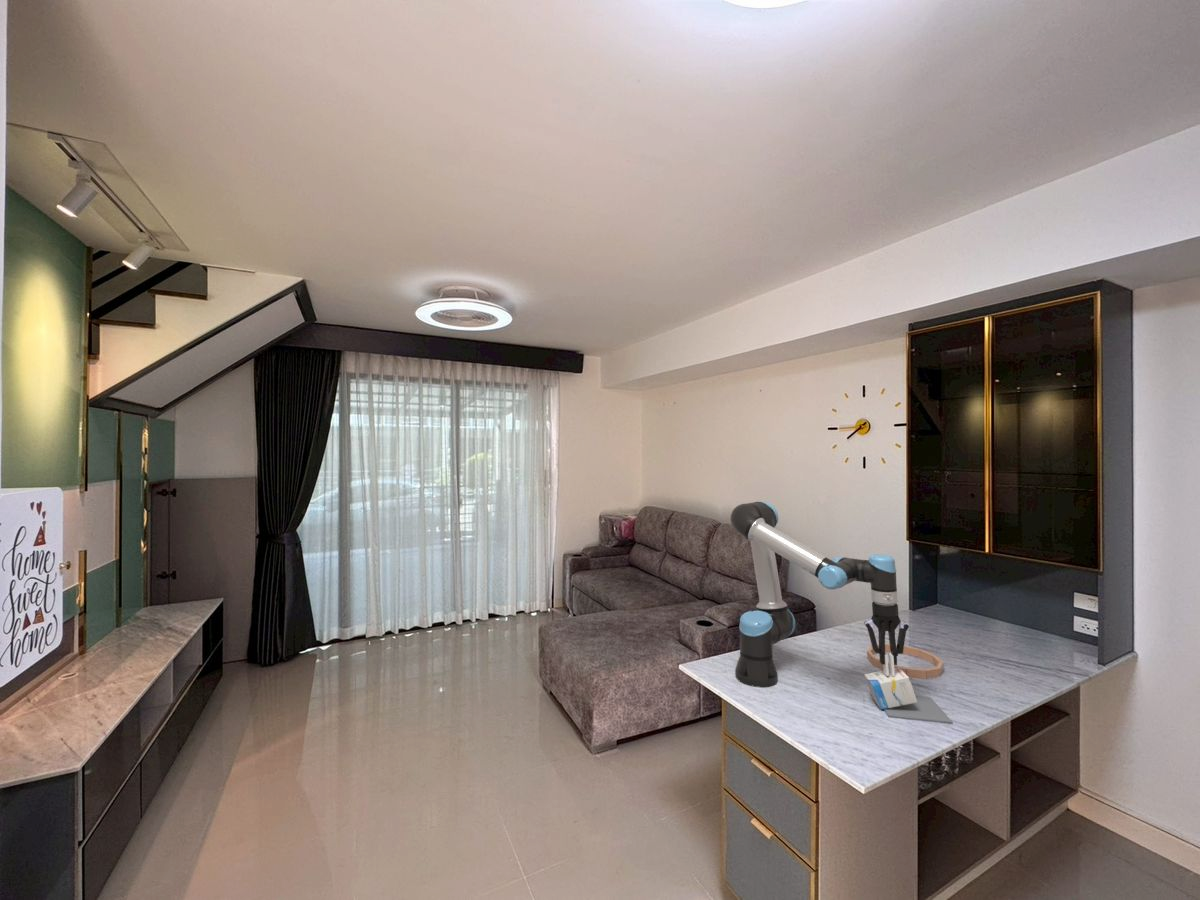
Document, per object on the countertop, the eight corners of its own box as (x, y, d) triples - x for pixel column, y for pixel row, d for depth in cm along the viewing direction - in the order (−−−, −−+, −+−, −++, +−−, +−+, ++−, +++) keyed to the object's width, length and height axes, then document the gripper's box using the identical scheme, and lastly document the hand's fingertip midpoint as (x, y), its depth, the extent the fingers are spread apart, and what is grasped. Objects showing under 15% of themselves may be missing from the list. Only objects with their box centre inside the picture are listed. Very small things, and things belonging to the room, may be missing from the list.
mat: (888, 717, 157) (888, 715, 157) (872, 693, 173) (872, 691, 173) (952, 723, 153) (952, 722, 153) (930, 698, 169) (930, 696, 169)
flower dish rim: (879, 675, 186) (879, 667, 186) (860, 649, 211) (860, 642, 211) (954, 681, 181) (954, 673, 181) (925, 653, 205) (925, 646, 205)
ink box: (880, 710, 161) (919, 703, 158) (871, 685, 162) (909, 677, 159) (872, 698, 169) (908, 690, 167) (863, 673, 170) (899, 666, 168)
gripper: (865, 605, 162) (869, 678, 162) (912, 606, 159) (917, 680, 159) (858, 599, 170) (862, 668, 169) (903, 599, 167) (908, 670, 166)
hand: (889, 674), depth 164 cm, fingers closed
